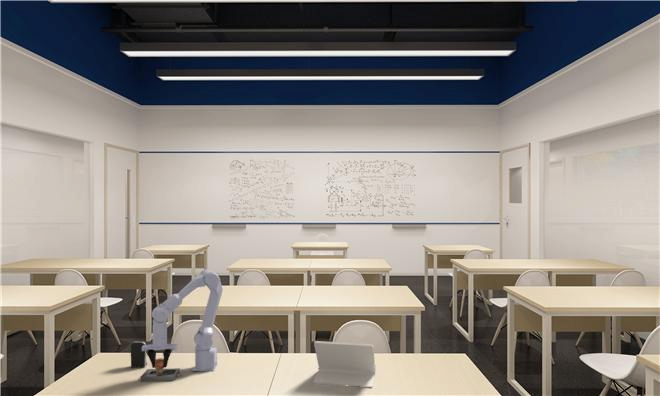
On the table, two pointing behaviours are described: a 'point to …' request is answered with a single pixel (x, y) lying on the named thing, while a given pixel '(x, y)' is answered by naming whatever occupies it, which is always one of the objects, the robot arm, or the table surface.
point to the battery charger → (138, 354)
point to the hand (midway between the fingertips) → (159, 366)
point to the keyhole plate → (160, 375)
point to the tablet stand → (345, 364)
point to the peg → (159, 365)
